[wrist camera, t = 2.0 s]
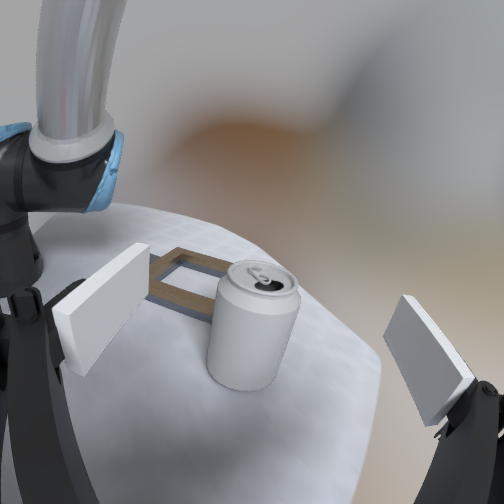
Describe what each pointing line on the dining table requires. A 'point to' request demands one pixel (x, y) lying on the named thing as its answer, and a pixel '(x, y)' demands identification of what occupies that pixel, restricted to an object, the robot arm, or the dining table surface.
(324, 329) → the dining table surface
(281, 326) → the can
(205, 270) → the chain end lower
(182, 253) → the chain end upper
